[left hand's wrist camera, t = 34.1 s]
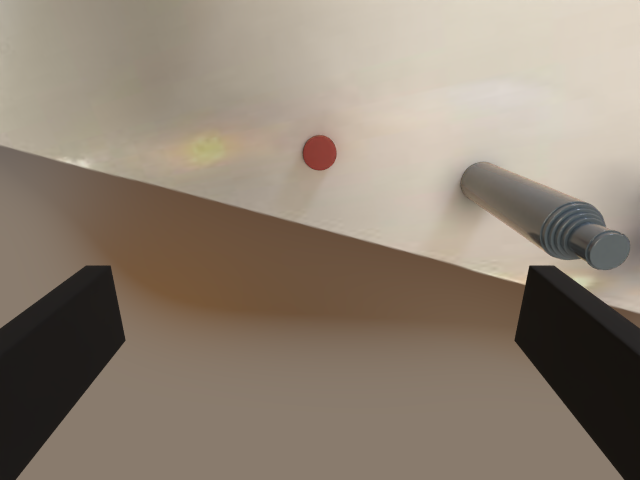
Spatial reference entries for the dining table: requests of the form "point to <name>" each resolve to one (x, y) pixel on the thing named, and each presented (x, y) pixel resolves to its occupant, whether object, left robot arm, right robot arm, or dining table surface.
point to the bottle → (546, 216)
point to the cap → (319, 152)
